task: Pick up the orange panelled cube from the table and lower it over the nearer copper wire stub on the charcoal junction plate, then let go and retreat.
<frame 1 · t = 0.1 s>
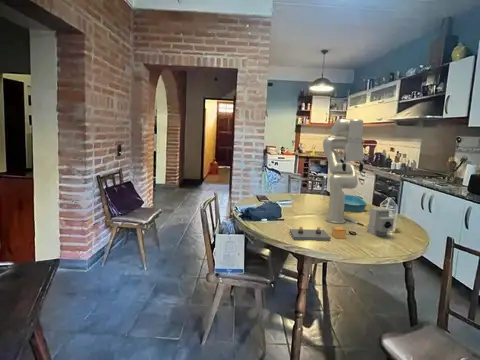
hand: (352, 171, 201), 37 cm above the table, tool pointing down, fingers open, 9 cm apart
casserole dish: (347, 207, 271), on the table
orange panelled cube: (338, 236, 197), on the table
junction plate: (309, 236, 196), on the table
circuit breaker: (380, 235, 203), on the table
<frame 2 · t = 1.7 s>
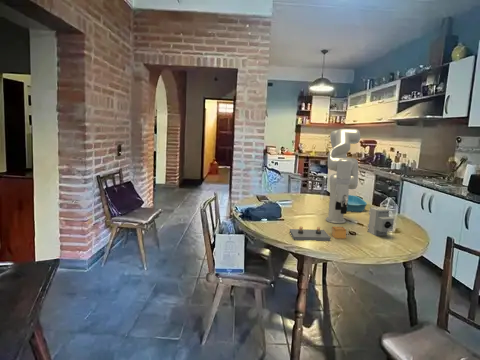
hand: (340, 211, 195), 15 cm above the table, tool pointing down, fingers open, 9 cm apart
nothing on the table moved.
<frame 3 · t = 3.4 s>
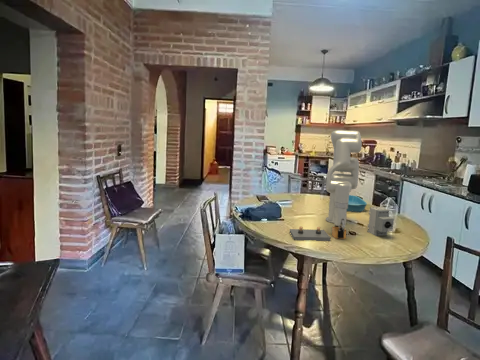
hand: (338, 235, 197), 1 cm above the table, tool pointing down, fingers closed on orange panelled cube, 6 cm apart
orange panelled cube: (338, 236, 197), on the table, touching gripper
everything else where it was.
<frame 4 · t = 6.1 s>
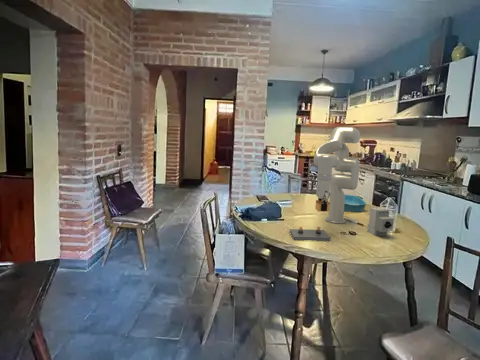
hand: (322, 209, 194), 16 cm above the table, tool pointing down, fingers closed on orange panelled cube, 6 cm apart
orange panelled cube: (322, 210, 194), point 15 cm above the table, touching gripper
everything else where it was.
when the fingers open (4 cm above the table, at t = 9.1 s): orange panelled cube drops 1 cm, resting on junction plate.
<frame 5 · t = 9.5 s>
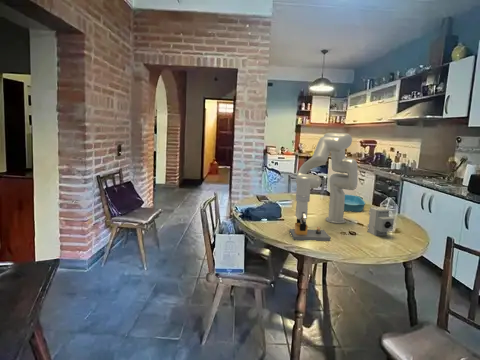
hand: (300, 228, 195), 5 cm above the table, tool pointing down, fingers open, 9 cm apart
orange panelled cube: (300, 232, 196), point 2 cm above the table, touching junction plate
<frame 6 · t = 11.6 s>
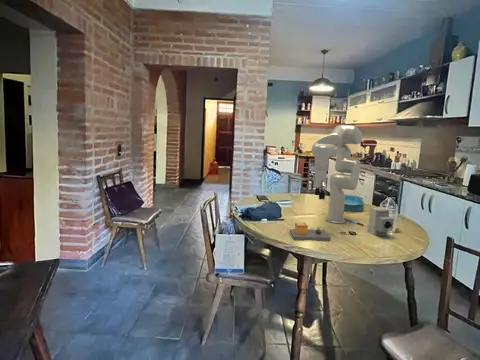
hand: (319, 197, 198), 22 cm above the table, tool pointing down, fingers open, 9 cm apart
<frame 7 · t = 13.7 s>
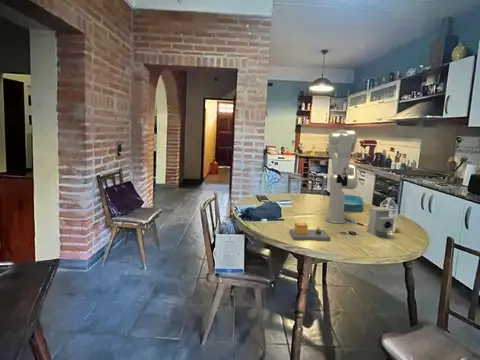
hand: (341, 184, 204), 28 cm above the table, tool pointing down, fingers open, 9 cm apart
at the end: orange panelled cube 0.1 cm from the target spot on the junction plate, point 2.0 cm above the junction plate's base; orange panelled cube tilted 0°; the gripper is holding nothing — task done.
